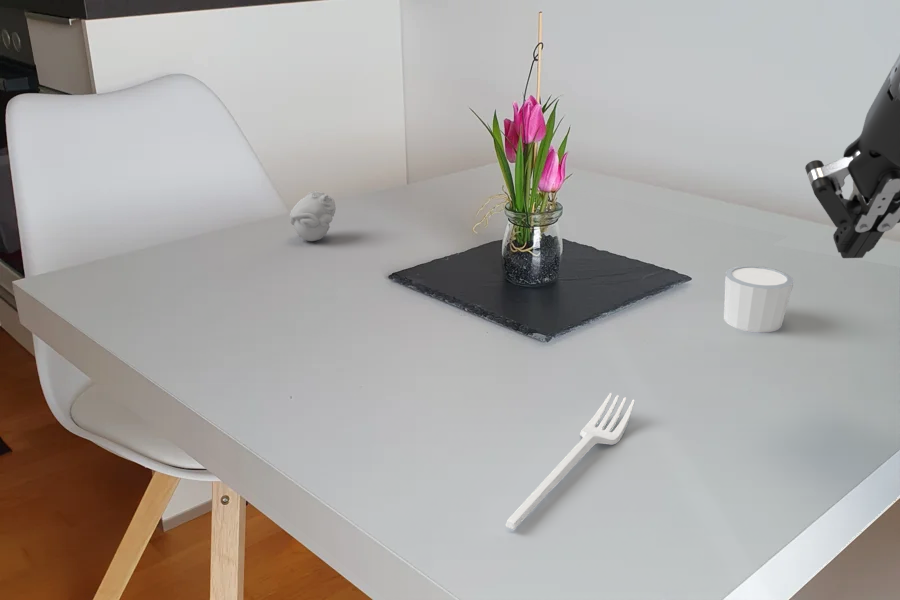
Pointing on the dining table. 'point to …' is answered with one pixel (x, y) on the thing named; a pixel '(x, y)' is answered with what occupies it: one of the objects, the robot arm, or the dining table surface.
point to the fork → (577, 454)
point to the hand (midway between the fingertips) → (847, 249)
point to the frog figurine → (313, 215)
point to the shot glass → (756, 298)
